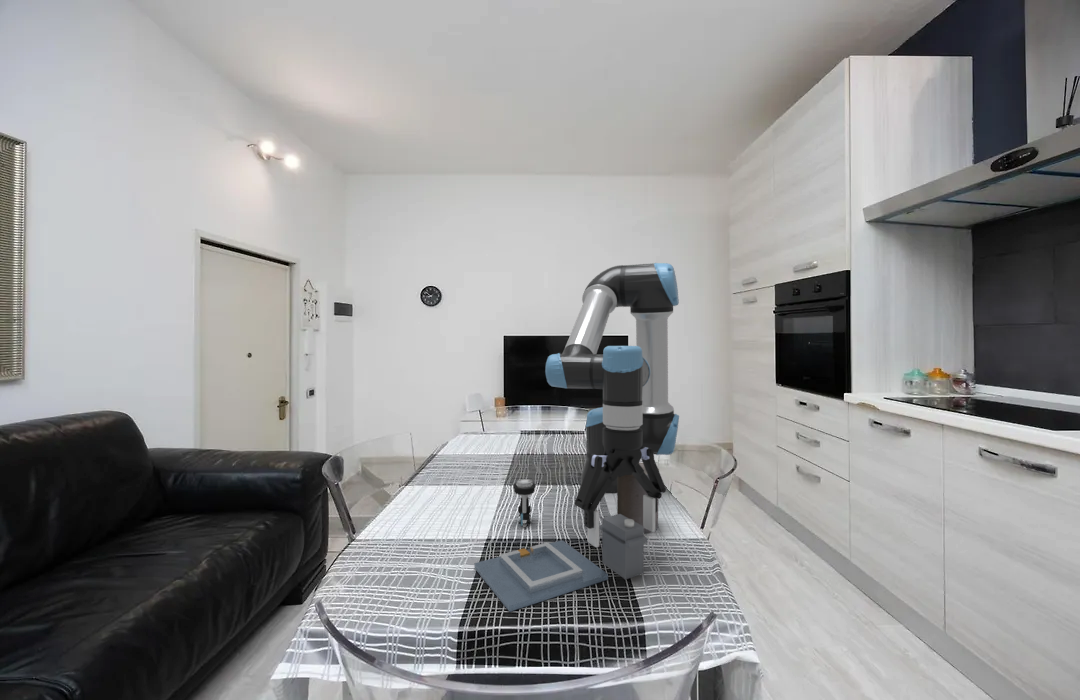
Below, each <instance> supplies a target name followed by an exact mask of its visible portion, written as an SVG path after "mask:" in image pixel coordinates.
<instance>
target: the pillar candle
mask: <svg viewBox="0 0 1080 700" xmlns="http://www.w3.org/2000/svg"><path fill="white" fill-rule="evenodd" d="M639 464H640V466H641V467H642V468H643V470H644V473H645V474H646V476H647V477H648V474H647V472H646V469H645V467H644V464H643V462H640V461H639ZM658 470H659V471H660V469H659V468H658ZM648 478H649V477H648ZM649 480H650V479H649ZM616 493H617V494H616V495H617V497H616V498H617V499H616V500H617V502H616V503H617V506H616V507H617V508H616V510H617V511H616V513H617V514H621V515H623V516H625V517H627V518H629V519H632V520H634V522H636V523H638V524H640V525H642V526H643V495H648V494H647V493H646V491H645V490H644V489H643V487H642V486H641V485H640V484H639V482H638V481H637V480H636V478H635V477H634V476H633V474H632V475H624V476H622V477H618V478H617V492H616ZM617 514H616V515H617ZM658 528H659V499H658V498H657V512H656V513H655V531H656V530H657V529H658ZM649 533H652V532H651V531H649V530H647V529H645V528H644V534H649Z"/></svg>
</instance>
